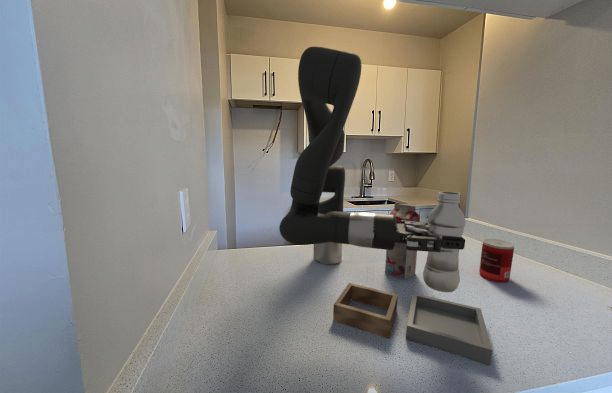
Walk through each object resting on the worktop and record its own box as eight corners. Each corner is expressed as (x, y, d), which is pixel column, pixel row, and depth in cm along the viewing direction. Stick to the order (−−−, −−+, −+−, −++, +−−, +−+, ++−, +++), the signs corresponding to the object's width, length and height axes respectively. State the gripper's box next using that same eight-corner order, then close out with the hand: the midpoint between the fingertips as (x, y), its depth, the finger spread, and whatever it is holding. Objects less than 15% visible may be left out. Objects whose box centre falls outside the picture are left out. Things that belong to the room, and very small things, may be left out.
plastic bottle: (463, 298, 49) (476, 196, 46) (425, 294, 50) (435, 194, 47) (451, 282, 55) (462, 191, 52) (418, 279, 57) (426, 190, 54)
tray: (405, 339, 51) (406, 325, 51) (412, 304, 64) (413, 292, 63) (490, 365, 45) (492, 350, 44) (479, 320, 57) (480, 308, 57)
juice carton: (404, 279, 76) (410, 207, 73) (384, 272, 81) (389, 204, 78) (415, 273, 80) (420, 204, 77) (395, 266, 85) (400, 201, 82)
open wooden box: (333, 320, 57) (333, 304, 56) (348, 297, 66) (349, 282, 66) (389, 338, 51) (390, 320, 51) (396, 310, 61) (398, 294, 60)
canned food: (505, 274, 81) (510, 240, 79) (513, 285, 74) (518, 249, 72) (476, 269, 84) (480, 237, 82) (481, 279, 77) (485, 244, 75)
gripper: (371, 237, 62) (447, 244, 58) (369, 259, 49) (469, 271, 44) (373, 207, 61) (451, 212, 57) (371, 221, 48) (474, 229, 43)
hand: (458, 238), depth 51 cm, fingers closed on plastic bottle, 6 cm apart
